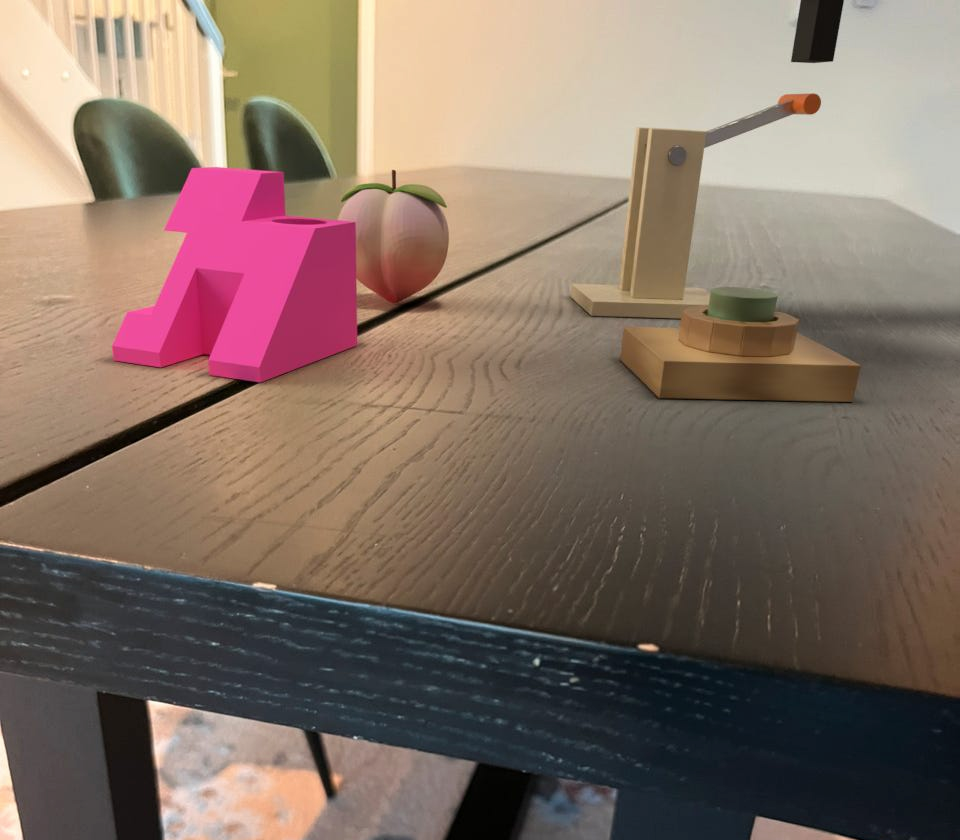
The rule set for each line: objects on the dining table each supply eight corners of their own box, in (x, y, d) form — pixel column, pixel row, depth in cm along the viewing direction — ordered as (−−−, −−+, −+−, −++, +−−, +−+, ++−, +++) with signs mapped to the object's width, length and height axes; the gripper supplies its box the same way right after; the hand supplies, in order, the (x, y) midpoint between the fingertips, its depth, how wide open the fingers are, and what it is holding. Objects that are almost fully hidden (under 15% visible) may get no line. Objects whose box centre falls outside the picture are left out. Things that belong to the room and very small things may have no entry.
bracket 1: (227, 327, 69) (215, 167, 64) (357, 345, 66) (354, 177, 61) (113, 360, 59) (89, 172, 54) (260, 382, 56) (248, 185, 51)
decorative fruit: (461, 300, 84) (466, 171, 79) (434, 315, 77) (437, 175, 72) (358, 290, 86) (357, 164, 81) (322, 305, 79) (318, 167, 74)
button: (758, 316, 62) (763, 287, 62) (782, 329, 59) (787, 298, 58) (698, 314, 62) (702, 286, 61) (718, 327, 58) (723, 296, 58)
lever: (796, 116, 81) (791, 85, 80) (823, 117, 76) (819, 83, 75) (646, 173, 82) (639, 143, 81) (663, 178, 77) (656, 145, 76)
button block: (789, 363, 67) (801, 303, 65) (853, 402, 58) (868, 333, 57) (619, 359, 66) (626, 298, 64) (658, 398, 57) (668, 328, 55)
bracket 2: (699, 301, 89) (724, 131, 83) (732, 320, 81) (762, 134, 75) (570, 297, 88) (585, 124, 81) (591, 316, 80) (609, 126, 73)
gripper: (988, -454, 51) (884, 68, 62) (749, -481, 49) (687, 59, 61) (1082, -536, 44) (947, 64, 56) (810, -570, 43) (728, 54, 54)
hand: (811, 61), depth 58 cm, fingers closed
